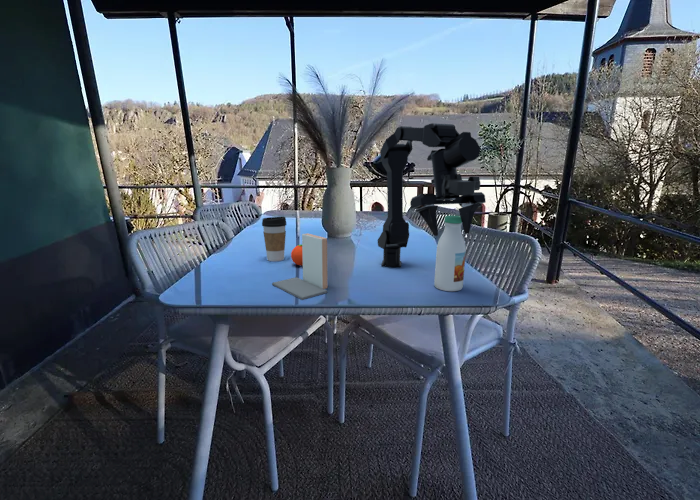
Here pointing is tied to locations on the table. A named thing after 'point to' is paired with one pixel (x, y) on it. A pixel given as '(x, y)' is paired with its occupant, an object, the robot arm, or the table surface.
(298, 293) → the mat
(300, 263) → the clementine
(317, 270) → the tile
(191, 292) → the table surface
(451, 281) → the milk bottle
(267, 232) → the coffee cup
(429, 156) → the robot arm
